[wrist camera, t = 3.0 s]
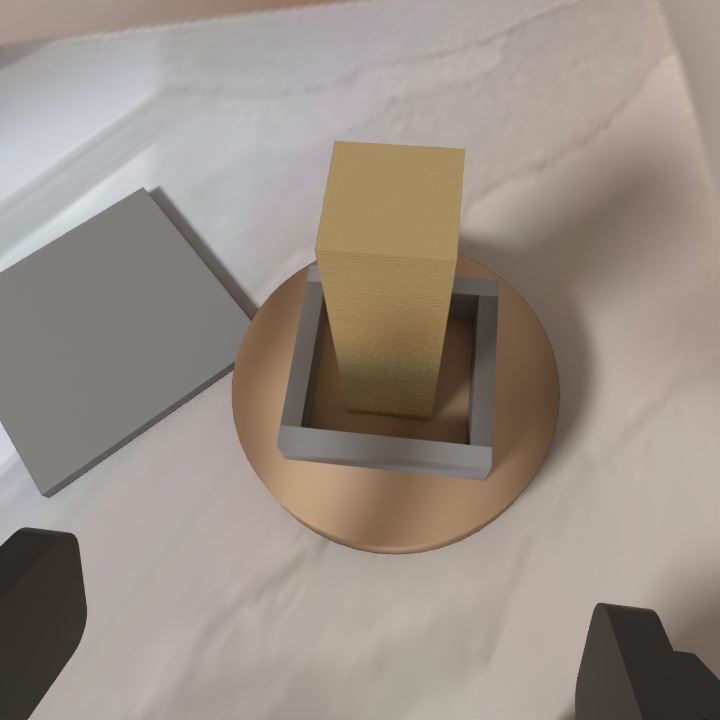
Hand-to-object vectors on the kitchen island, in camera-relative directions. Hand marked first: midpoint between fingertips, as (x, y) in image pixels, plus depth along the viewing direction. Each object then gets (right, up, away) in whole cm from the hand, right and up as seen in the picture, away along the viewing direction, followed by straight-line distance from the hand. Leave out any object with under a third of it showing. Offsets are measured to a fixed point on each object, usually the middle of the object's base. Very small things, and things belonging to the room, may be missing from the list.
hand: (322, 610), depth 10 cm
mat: (-12, +5, +22) cm, 26 cm away
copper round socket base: (+2, +2, +20) cm, 20 cm away
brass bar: (+2, +3, +17) cm, 18 cm away
